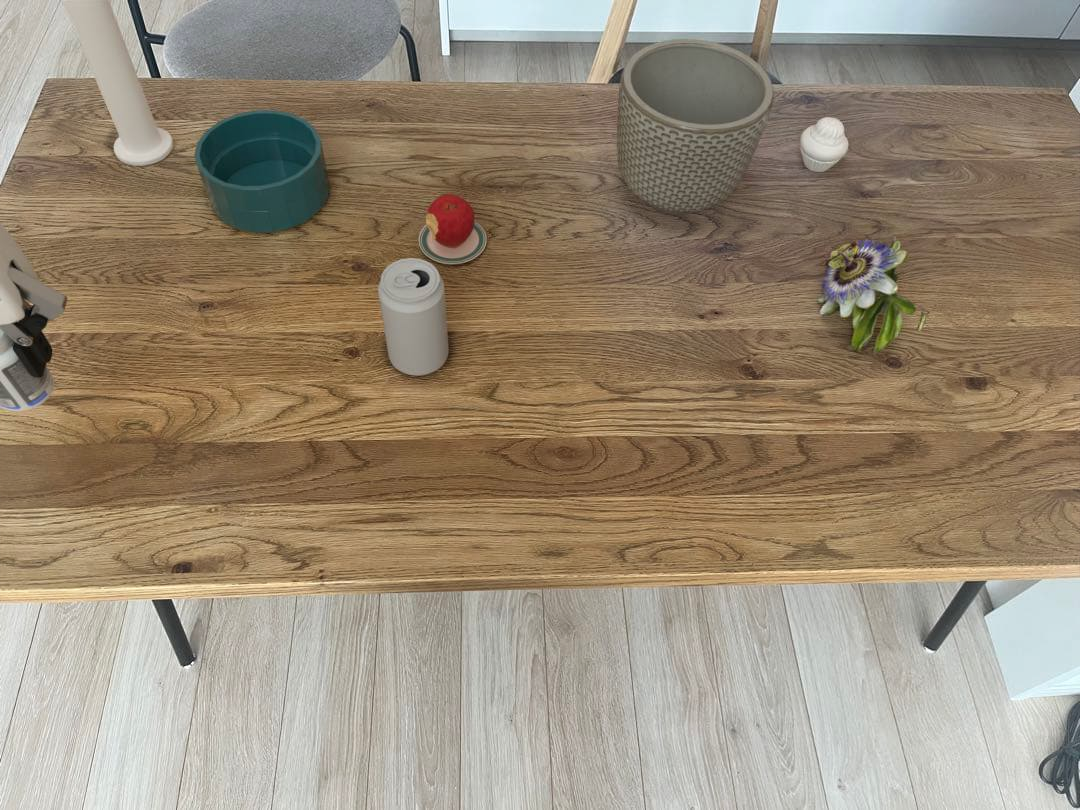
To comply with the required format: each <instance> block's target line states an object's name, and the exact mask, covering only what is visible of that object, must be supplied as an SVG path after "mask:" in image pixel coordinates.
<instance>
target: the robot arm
mask: <svg viewBox="0 0 1080 810" xmlns="http://www.w3.org/2000/svg"><path fill="white" fill-rule="evenodd" d="M30 303H31V304H32V305H31V304H30ZM67 304H68V297H67V296H66V295H65V294H63V293H62V292H59V291H58V290H57V289H54V288H52V287H51V286H49V285H47V284H45V283H44V282H42V281H40V280H38V275H37V272H36V270H35V269H34V267H33V265H32V263H31V262H30V261H29V259H28V257H27V256H26V254H25V253H24V251H23V249H22V248H21V247H20V246H19V244H18V243H17V241H16V240H15V239H14V237H13V236H12V235H11V234H10V232H9V231H8V230H7V228H6V227H5V226H4V225H3V224H2V222H1V221H0V329H1V330H2V331H3V332H4V333H5V334H7V335H8V336H9V337H10V338H11V339H12V340H14V341H15V342H14V345H13V351H14V352H15V354H16V355H17V357H18V358H19V359H20V361H21V362H22V364H23V365H24V366H25V368H26V369H27V371H28V372H29V374H30V375H31V376H33V377H34V378H41V377H42V376H43V373H44V370H45V367H46V366H47V364H48V363H50V362H51V361H52V358H53V347H52V345H51V343H50V341H49V340H48V339H47V337H46V336H45V333H44V332H43V330H44V329H45V328H46V327H47V325H48V323H49V322H53V321H54V320H55V319H56V318H58V317H60V316H61V315H62V314H63V313H65V309H66V307H67Z"/></svg>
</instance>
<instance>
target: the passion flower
mask: <svg viewBox="0 0 1080 810" xmlns="http://www.w3.org/2000/svg"><path fill="white" fill-rule="evenodd" d="M900 248H901V241H899V239H898V238H897V236H895V235H894V236H892V239H891V245H890V246H889V243H887V242H884V241H883V242H882V243H881V241H880V240H878V241H876V242H875V239H874V238H871V239H870V240H869V241H868V238H866V239H865V241H864V242H862V241H861V240H860V239H858V240H856V241H853V242H849V243H846V244H843V245H841V246H840V247H838V248H837V247H836V249H835V250H832V251H831V253H830V256H829V257H830V259H828V260H827V261H825V263H824V266H825V273H826V274H825V276H824V279H823V280H822V281H821V282H820V284H821V293H823V294H822V296H820V297H818V298H817V299H816V301H817V302H818V304H821V305H822V307H821V308H820V310H819V315H820V316H823V317H828V316H830V315H833V314H834V313H836V312H837V311H838V310H839V317H840V318H841V319H842V318H843V319H846V318H850V317H852V323H851V324H852V328H853V333H852V336H851V341H850V346H851V347H852V348H853V349H854V350H855V352H856V353H858V354H859V353H860V352H861V350H862V349H863V348H864V346H866V345H867V344H868V343H869V342H870V340H871V339H872V337H873V335H874V332H875V328H876V326H877V323H878V317H879V315H880V314H881V313H883V312H884V313H883V318H882V322H881V327H880V328H879V329H880V330H879V333H878V334H877V336H876V341H875V344H874V348H873V351H872V354H876V353H878V352H879V351H881V350H884V349H885V348H886V347H888V346H889V345H890V344H891V343H893V342H894V341H895V339H897V338H898V337H899V334H900V332H901V330H902V328H903V327H904V326H903V316H902V313H903V314H905V315H913V314H915V313H916V310H917V309H916V307H919V308H920V309H922V310H924V311H925V312H924V311H921V312H920V315H921V316H920V319H919V322H918V325H917V327H916V331H917V332H918V333H919V332H921V331H922V330H923V328H924V325H925V323H926V321H927V317H928V316H929V315H930V311H929V310H928V309H927V308H925V307H923V306H921V304H919V303H916V302H914V301H912V300H910V299H908V298H906V297H903V296H901V295H899V294H898V293H897V292H898V290H899V285H898V283H897V282H898V280H899V274H896V268H897V267H899V266H900V265H902V264H903V263H904V262H905V261H906V259H908V257H909V256H908V255H909V251H907V250H904V249H901V250H900Z"/></svg>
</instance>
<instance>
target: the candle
mask: <svg viewBox="0 0 1080 810" xmlns="http://www.w3.org/2000/svg"><path fill="white" fill-rule="evenodd" d="M61 1H62V3H63V6H64V8H65V11H66V14H67V15H68V18H69V21H70V22H71V25H72V27H73V29H74V32H75V35H76V37H77V39H78V41H79V44H80V46H81V49H82V51H83V52H84V55H85V58H86V61H87V63H88V65H89V67H90V70H91V72H92V74H93V77H94V79H95V82H96V84H97V87H98V88H99V91H100V93H101V96H102V98H103V101H104V103H105V105H106V107H107V110H108V112H109V115H110V118H111V120H112V122H113V124H114V127H115V129H116V131H117V134H118V137H117V138H116V139H115V141H114V144H113V152H114V155H115V156H116V159H118V160H119V161H120V162H121V163H123V164H126V165H129V166H134V167H145V166H150V165H154V164H156V163H159V162H161V161H163V160H164V159H166V158H167V157H168V156H169V155H170V154H171V152H172V151H173V148H174V140H173V137H172V135H171V134H170V132H169V131H167V130H166V129H164V128H162V127H159V126H157V124H156V122H155V120H154V116H153V113H152V111H151V108H150V106H149V103H148V99H147V97H146V95H145V92H144V90H143V87H142V84H141V82H140V79H139V76H138V74H137V71H136V68H135V66H134V63H133V60H132V58H131V55H130V52H129V51H128V47H127V45H126V42H125V39H124V37H123V34H122V31H121V28H120V25H119V23H118V20H117V17H116V15H115V12H114V10H113V7H112V4H111V2H110V0H61Z"/></svg>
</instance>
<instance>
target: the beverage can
mask: <svg viewBox="0 0 1080 810" xmlns="http://www.w3.org/2000/svg"><path fill="white" fill-rule="evenodd" d="M445 290H446V289H445V283H444V279H443V278H442V276H441V275H440V273H439V270H438V269H437V268H436V267H435V265H434V264H432V263H431V262H429V261H427V260H425V259H421V258H417V257H407V258H401V259H398V260H396V261H394V262H392V263H390V264H389V265H387V266H386V268H385V269H384V270H383V271H382V273H381V276H380V281H379V283H378V286H377V293H378V300H379V306H380V311H381V317H382V323H383V330H384V336H385V342H386V343H385V344H386V350H387V355H388V359H389V361H390V363H391V365H392V366H393V367H394V368H395V369H396V370H398V371H399V372H401V373H403V374H406V375H409V376H425V375H429V374H432V373H435V372H436V371H438V370H439V369H441V367H443V366H444V364H445V363H446V361H447V359H448V356H449V350H450V349H449V336H448V335H449V334H448V320H447V305H446V293H445Z"/></svg>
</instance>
